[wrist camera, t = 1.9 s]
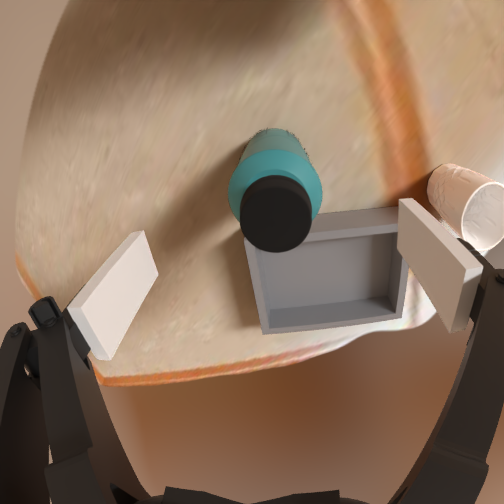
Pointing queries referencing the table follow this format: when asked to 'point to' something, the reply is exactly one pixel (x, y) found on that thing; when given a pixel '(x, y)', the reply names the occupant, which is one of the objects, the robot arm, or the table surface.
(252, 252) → the trough tray
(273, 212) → the beverage bottle
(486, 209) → the white cup
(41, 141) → the table surface
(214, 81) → the table surface
